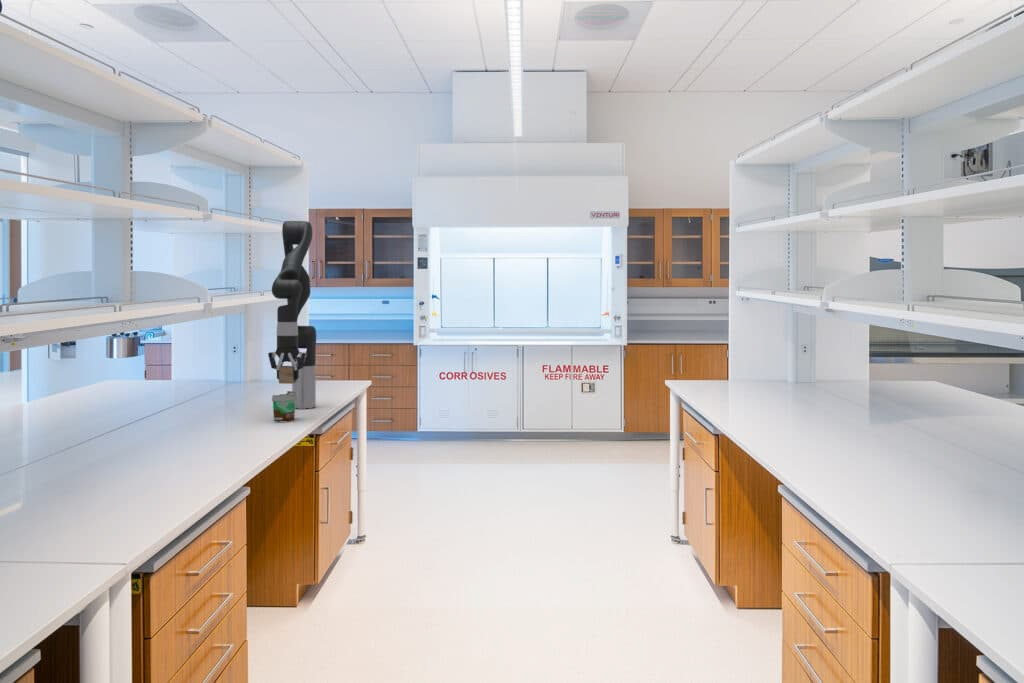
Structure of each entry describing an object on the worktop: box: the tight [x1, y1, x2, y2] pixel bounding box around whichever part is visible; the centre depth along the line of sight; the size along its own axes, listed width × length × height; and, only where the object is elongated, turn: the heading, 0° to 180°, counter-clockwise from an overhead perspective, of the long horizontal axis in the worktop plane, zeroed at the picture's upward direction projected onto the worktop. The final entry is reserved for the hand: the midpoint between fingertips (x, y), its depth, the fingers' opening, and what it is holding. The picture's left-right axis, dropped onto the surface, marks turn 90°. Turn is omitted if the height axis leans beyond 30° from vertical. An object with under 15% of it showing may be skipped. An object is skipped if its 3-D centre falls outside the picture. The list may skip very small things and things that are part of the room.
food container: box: [271, 390, 297, 422], centre depth 290 cm, size 12×6×10 cm, turn 168°
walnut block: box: [278, 365, 296, 385], centre depth 289 cm, size 5×5×6 cm
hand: (287, 380), depth 290 cm, fingers closed on walnut block, 5 cm apart
